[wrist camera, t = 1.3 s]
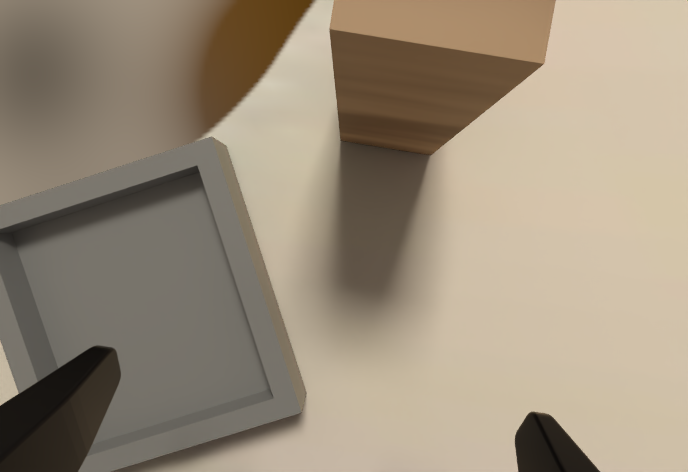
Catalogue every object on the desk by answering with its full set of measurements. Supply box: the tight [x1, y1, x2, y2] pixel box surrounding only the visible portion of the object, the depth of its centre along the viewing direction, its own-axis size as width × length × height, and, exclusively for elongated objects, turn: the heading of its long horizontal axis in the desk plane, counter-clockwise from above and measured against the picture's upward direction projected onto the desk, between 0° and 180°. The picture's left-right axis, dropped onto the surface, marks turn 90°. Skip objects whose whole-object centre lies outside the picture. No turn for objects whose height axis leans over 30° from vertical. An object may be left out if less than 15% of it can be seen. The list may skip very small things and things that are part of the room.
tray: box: [0, 137, 306, 472], centre depth 20 cm, size 13×12×2 cm
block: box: [330, 0, 556, 155], centre depth 15 cm, size 4×4×12 cm
